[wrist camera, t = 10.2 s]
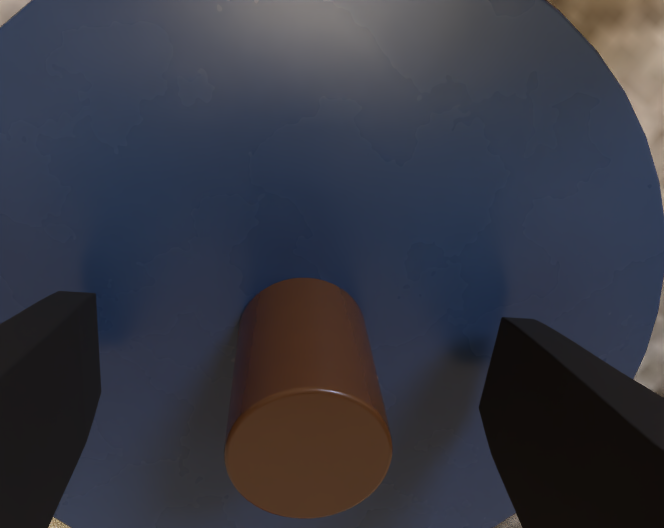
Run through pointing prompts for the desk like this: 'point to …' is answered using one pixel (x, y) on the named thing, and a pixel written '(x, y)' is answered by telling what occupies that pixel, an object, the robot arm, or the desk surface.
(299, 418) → the pot lid
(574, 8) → the desk surface
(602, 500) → the robot arm
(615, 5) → the desk surface
